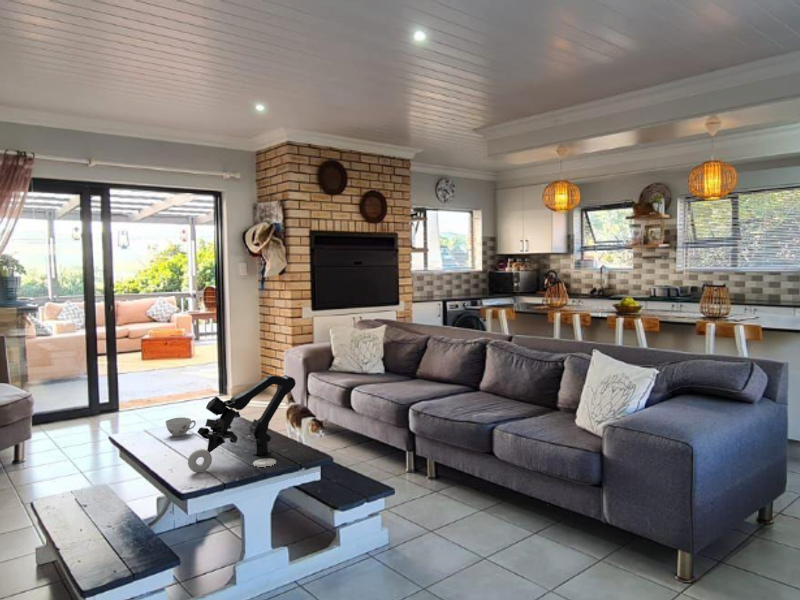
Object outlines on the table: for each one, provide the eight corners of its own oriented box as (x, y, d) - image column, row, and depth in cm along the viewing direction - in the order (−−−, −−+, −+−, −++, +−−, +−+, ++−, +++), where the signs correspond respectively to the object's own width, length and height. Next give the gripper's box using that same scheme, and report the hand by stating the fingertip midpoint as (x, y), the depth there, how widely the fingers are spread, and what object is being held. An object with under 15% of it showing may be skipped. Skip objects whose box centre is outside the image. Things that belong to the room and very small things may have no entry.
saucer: (258, 459, 263) (258, 457, 263) (279, 460, 261) (279, 458, 261) (249, 467, 253) (249, 465, 253) (270, 468, 251) (270, 466, 251)
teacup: (168, 440, 297) (168, 424, 296) (163, 434, 307) (163, 419, 307) (198, 435, 305) (198, 420, 305) (193, 429, 315) (192, 415, 315)
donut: (189, 475, 243) (188, 452, 242) (187, 473, 246) (186, 450, 245) (213, 471, 249) (212, 448, 248) (211, 468, 251) (210, 446, 251)
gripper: (199, 409, 259) (181, 440, 250) (232, 413, 251) (215, 445, 242) (212, 422, 267) (195, 453, 257) (245, 426, 259) (228, 458, 249)
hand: (208, 452), depth 251 cm, fingers closed
